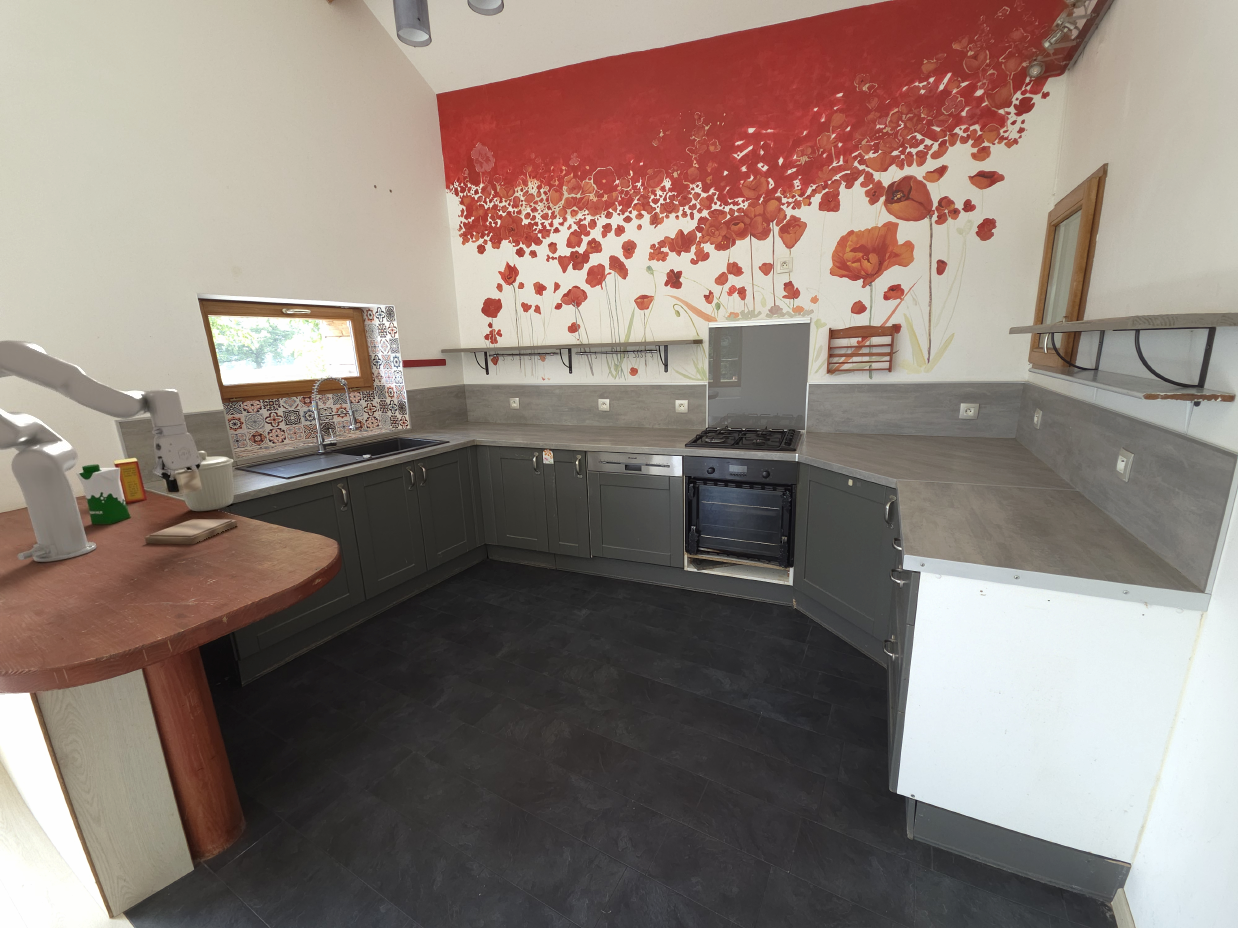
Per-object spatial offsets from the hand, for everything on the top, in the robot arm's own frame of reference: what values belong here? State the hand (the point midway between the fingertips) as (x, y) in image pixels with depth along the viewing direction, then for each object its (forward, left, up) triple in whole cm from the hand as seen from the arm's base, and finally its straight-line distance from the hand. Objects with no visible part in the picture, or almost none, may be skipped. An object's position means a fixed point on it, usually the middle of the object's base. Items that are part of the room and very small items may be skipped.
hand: (184, 488), depth 162 cm
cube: (0, 0, -1) cm, 1 cm away
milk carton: (+11, +43, -15) cm, 47 cm away
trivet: (0, 0, -15) cm, 15 cm away
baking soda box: (+36, +63, -15) cm, 74 cm away
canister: (+27, +20, -15) cm, 37 cm away
